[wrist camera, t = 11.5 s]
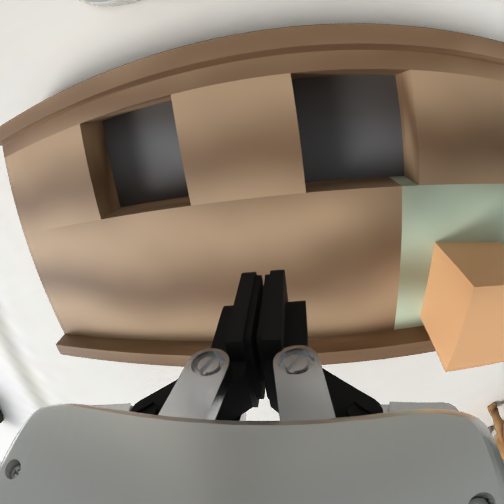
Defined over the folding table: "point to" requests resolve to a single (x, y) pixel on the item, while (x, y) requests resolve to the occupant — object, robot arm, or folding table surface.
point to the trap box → (261, 185)
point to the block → (466, 304)
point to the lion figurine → (497, 428)
